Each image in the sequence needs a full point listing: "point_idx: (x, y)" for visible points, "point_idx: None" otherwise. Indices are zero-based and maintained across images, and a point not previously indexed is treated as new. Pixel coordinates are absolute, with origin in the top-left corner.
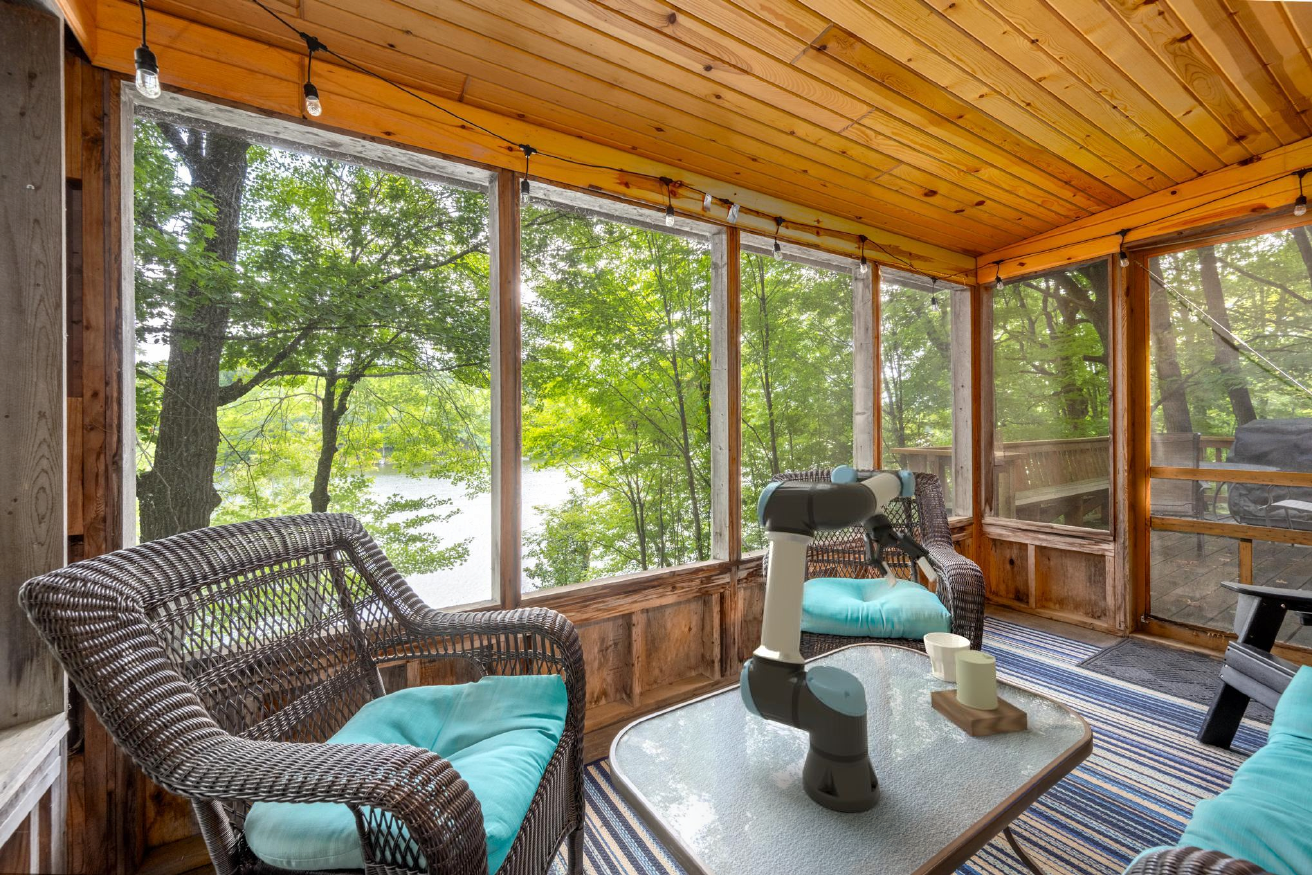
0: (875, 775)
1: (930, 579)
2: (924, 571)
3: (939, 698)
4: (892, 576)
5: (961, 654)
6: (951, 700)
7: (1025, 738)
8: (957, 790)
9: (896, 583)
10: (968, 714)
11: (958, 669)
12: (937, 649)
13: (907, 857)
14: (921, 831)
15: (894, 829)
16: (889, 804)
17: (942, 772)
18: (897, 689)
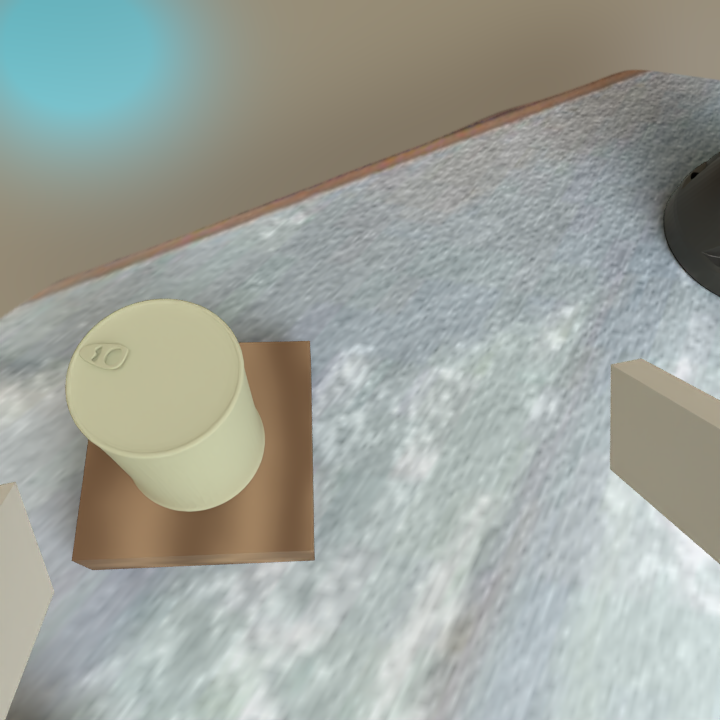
0: (693, 178)
1: (41, 585)
2: (3, 694)
3: (312, 495)
4: (686, 388)
5: (196, 411)
6: (281, 470)
7: None
8: (490, 194)
9: (613, 392)
10: (292, 372)
11: (247, 403)
12: None
13: (666, 84)
14: (619, 121)
15: (666, 131)
16: (653, 183)
17: (488, 247)
18: None
